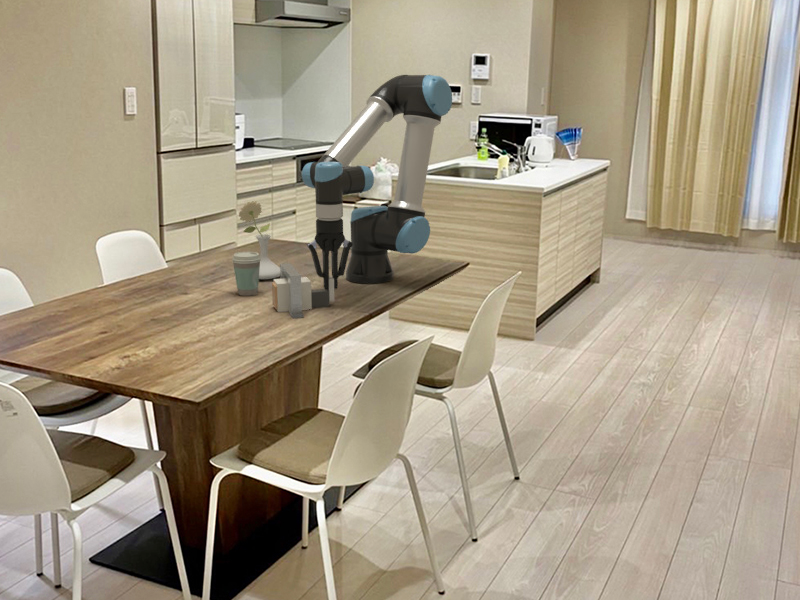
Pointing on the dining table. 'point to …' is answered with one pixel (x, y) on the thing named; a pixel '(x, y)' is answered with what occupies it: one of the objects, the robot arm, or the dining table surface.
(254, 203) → the flower in vase
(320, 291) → the plug
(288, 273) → the bar
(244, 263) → the coffee cup
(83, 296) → the dining table surface
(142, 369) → the dining table surface
